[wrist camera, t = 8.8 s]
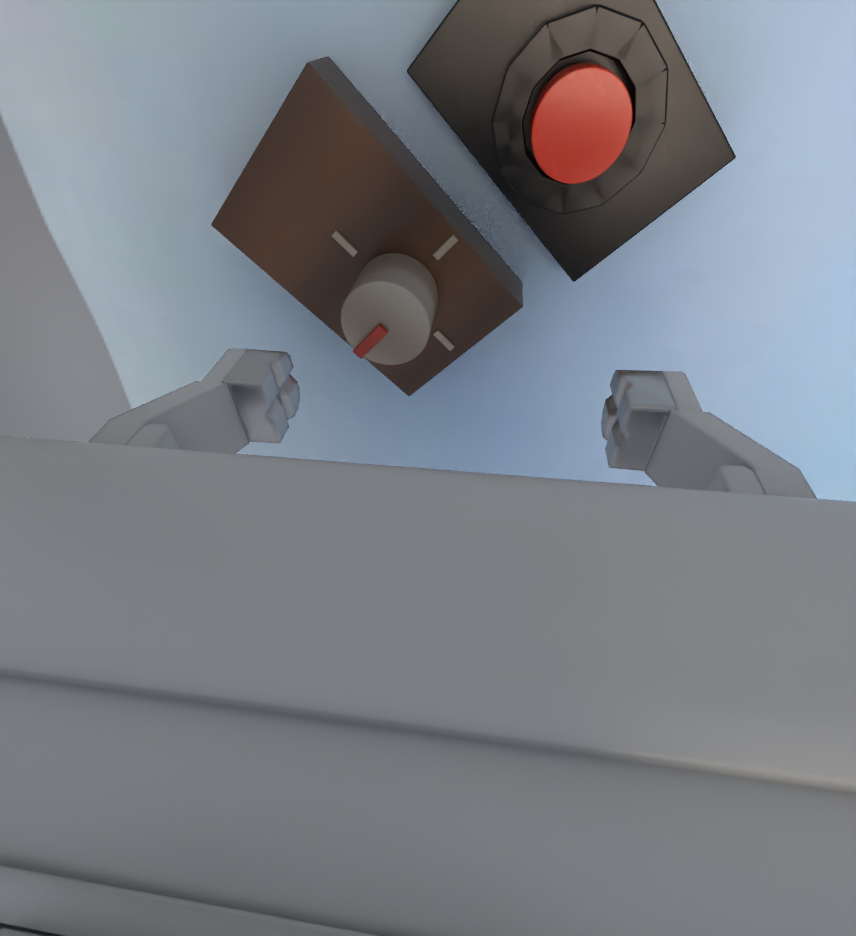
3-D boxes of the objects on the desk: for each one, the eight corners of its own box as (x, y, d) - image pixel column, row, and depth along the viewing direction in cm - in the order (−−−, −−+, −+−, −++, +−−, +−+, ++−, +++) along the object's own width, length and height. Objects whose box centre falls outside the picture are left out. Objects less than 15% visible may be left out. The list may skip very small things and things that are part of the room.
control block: (721, 146, 22) (751, 168, 19) (570, 266, 26) (576, 298, 24) (568, -145, 17) (578, -174, 14) (413, 65, 21) (398, 76, 18)
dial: (393, 233, 23) (377, 263, 21) (455, 296, 25) (447, 332, 23) (341, 292, 26) (321, 326, 23) (401, 346, 28) (388, 383, 25)
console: (522, 282, 27) (523, 308, 25) (415, 370, 32) (408, 398, 30) (328, 55, 21) (306, 62, 19) (235, 206, 27) (209, 226, 24)
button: (642, 121, 19) (651, 130, 18) (564, 192, 21) (567, 204, 20) (591, 35, 17) (597, 37, 16) (512, 120, 19) (511, 128, 18)
